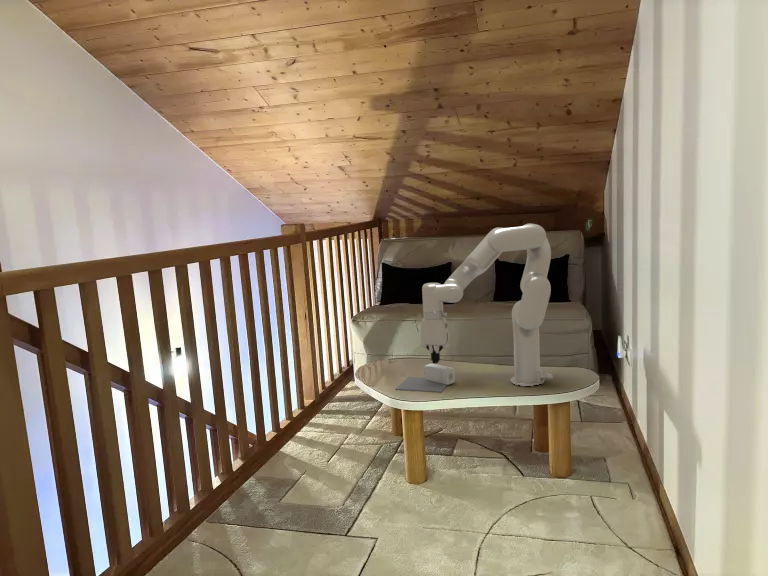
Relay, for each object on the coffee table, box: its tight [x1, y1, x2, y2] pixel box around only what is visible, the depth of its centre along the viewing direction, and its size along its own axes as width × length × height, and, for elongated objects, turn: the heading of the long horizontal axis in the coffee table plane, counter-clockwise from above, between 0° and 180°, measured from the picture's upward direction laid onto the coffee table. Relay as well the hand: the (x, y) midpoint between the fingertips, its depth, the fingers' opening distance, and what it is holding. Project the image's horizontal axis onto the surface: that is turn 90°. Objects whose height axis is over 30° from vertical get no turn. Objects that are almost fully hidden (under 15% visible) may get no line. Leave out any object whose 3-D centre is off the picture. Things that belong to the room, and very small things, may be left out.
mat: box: [395, 376, 448, 393], centre depth 225 cm, size 18×16×1 cm
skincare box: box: [423, 362, 456, 386], centre depth 226 cm, size 6×4×12 cm
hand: (435, 362), depth 222 cm, fingers closed
